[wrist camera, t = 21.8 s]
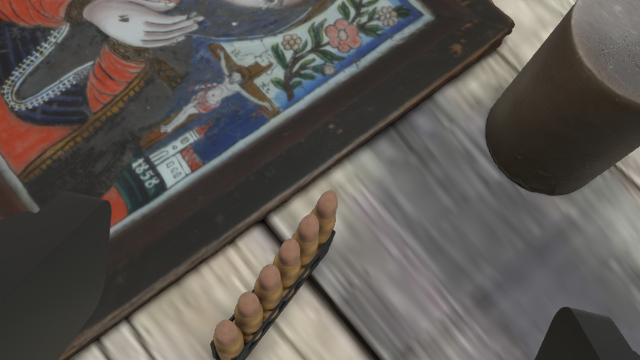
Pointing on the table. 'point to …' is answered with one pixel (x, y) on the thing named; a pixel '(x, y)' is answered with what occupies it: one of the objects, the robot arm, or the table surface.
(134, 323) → the table surface
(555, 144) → the pillar candle
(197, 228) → the religious icon
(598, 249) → the table surface
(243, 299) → the ammunition clip
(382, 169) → the table surface
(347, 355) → the table surface
